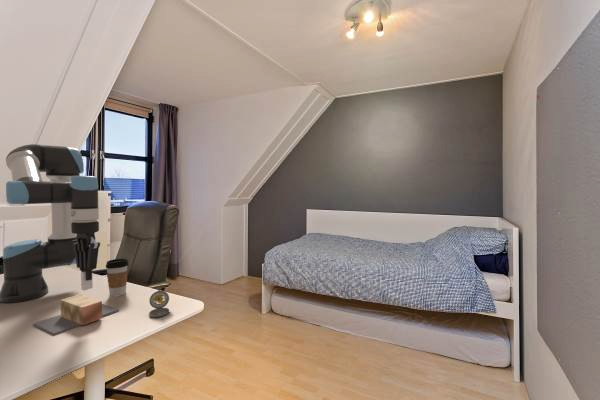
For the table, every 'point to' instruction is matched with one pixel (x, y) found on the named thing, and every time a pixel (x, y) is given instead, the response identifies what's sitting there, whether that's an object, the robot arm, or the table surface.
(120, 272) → the coffee cup
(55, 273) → the table surface
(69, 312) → the oak block
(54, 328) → the rubber mat
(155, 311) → the pocket watch
